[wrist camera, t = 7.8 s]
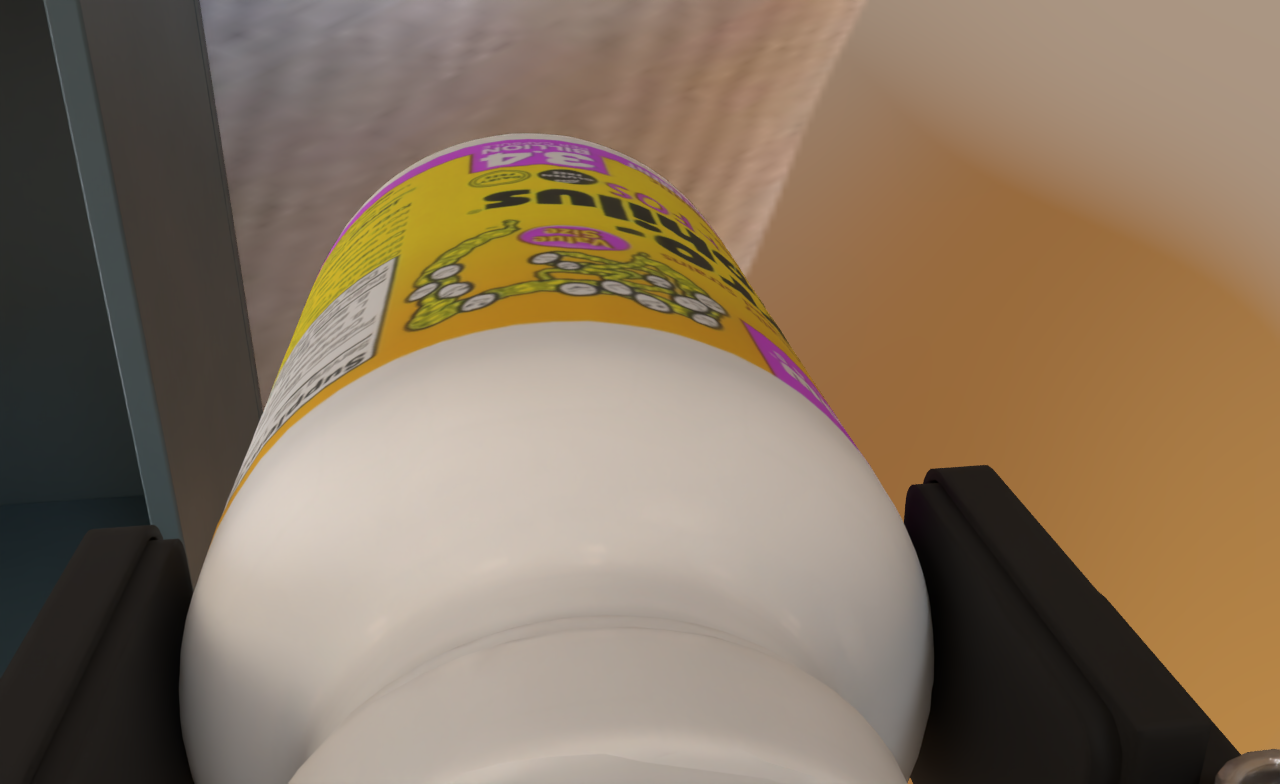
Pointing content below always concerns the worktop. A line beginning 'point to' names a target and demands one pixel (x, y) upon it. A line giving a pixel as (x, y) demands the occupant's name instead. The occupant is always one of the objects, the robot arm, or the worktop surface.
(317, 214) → the worktop surface
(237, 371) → the dark grey open box
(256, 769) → the supplement bottle
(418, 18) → the worktop surface
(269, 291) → the worktop surface
